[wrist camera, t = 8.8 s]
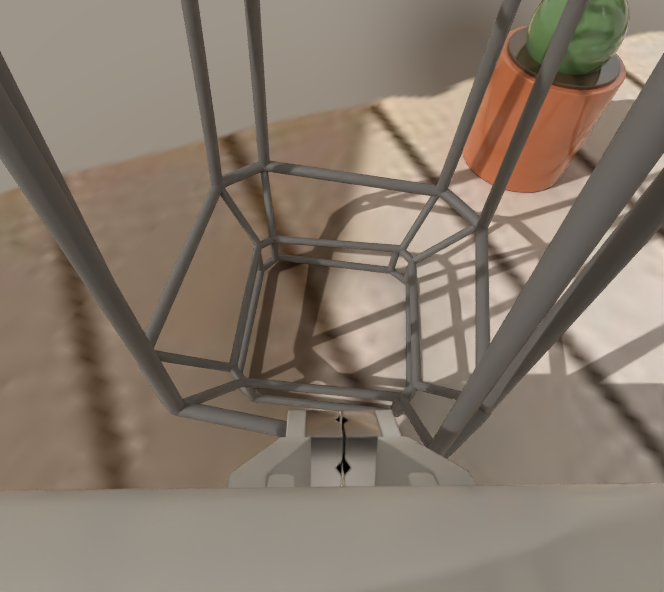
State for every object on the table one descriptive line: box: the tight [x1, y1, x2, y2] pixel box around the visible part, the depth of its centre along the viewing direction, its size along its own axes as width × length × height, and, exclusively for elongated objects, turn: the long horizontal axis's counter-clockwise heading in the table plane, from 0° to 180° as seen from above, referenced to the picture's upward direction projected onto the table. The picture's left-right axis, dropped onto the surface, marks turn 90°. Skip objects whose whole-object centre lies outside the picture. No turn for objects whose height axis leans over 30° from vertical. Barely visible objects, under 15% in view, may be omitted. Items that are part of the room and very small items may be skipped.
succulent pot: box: [463, 0, 629, 192], centre depth 26 cm, size 7×7×11 cm
